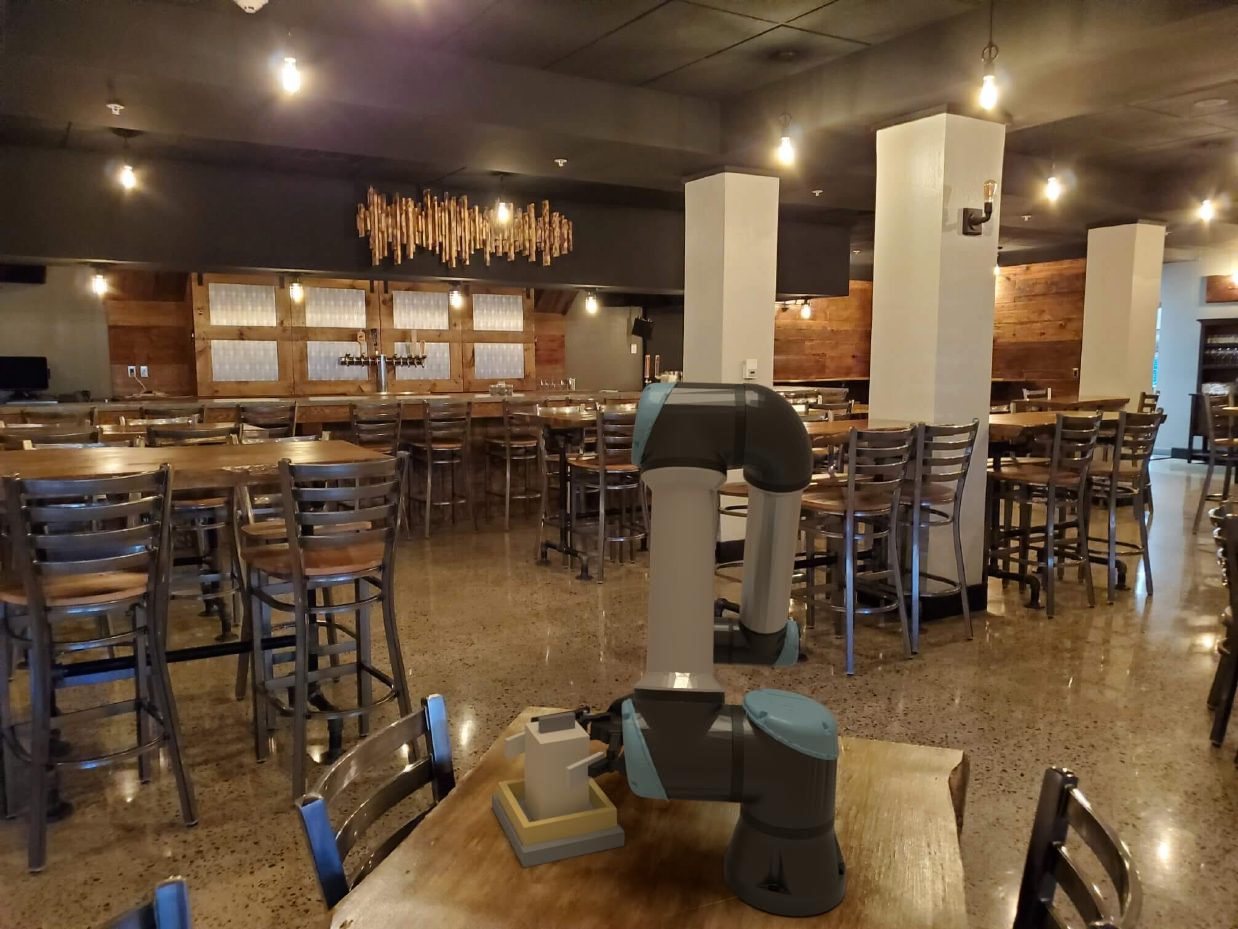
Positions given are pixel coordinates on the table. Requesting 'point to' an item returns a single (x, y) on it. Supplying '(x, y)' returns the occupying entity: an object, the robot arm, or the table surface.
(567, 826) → the tray
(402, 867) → the table surface
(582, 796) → the beige rectangular block
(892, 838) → the table surface
